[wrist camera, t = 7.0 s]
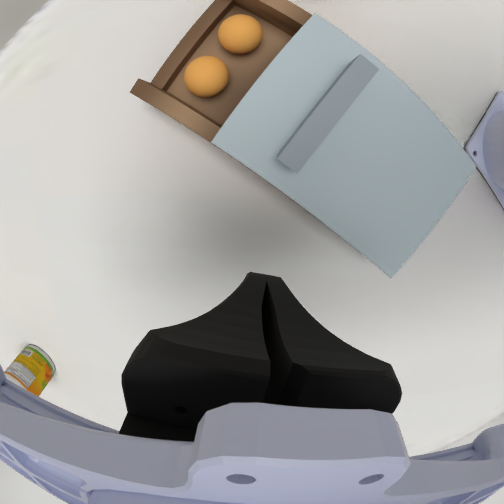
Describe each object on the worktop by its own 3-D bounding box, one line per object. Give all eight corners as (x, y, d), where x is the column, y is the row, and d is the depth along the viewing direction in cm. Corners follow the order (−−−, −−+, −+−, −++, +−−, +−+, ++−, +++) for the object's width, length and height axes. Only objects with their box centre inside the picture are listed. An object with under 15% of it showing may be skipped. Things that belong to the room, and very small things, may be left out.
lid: (471, 165, 15) (494, 171, 13) (387, 274, 18) (402, 293, 16) (313, 16, 12) (320, -1, 10) (212, 142, 16) (203, 143, 13)
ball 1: (239, 74, 17) (235, 64, 14) (215, 107, 18) (206, 102, 15) (206, 54, 16) (196, 43, 14) (182, 87, 17) (169, 80, 15)
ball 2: (271, 36, 16) (272, 21, 13) (247, 65, 16) (243, 54, 14) (237, 17, 15) (233, 1, 12) (213, 45, 16) (204, 33, 13)
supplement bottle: (51, 379, 31) (20, 426, 22) (24, 354, 30) (-11, 398, 21) (59, 364, 30) (23, 416, 21) (29, 336, 28) (-11, 384, 19)
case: (391, 102, 17) (415, 98, 14) (311, 206, 21) (320, 220, 17) (233, -6, 15) (226, -29, 11) (152, 98, 18) (129, 92, 15)
